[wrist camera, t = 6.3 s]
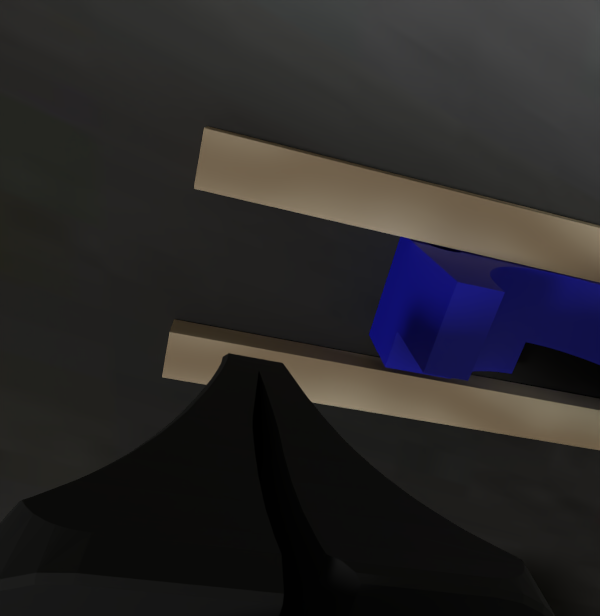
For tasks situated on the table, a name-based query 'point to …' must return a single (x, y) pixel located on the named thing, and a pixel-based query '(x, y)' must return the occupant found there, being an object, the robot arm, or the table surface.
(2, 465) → the table surface
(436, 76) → the table surface
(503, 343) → the blue stepped block
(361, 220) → the channel
